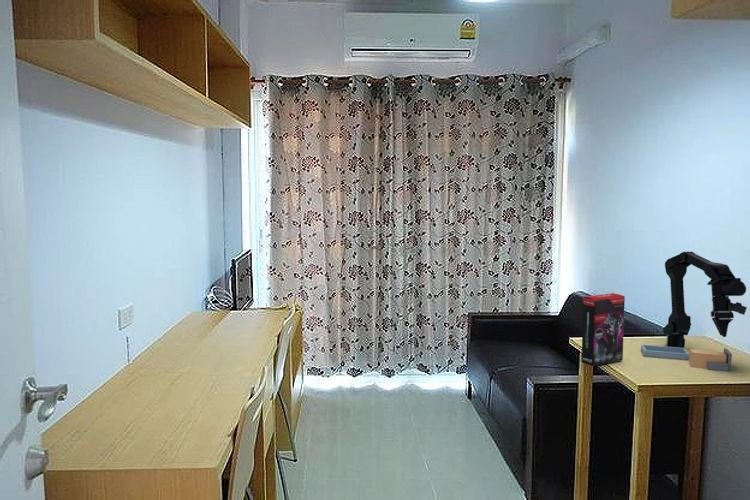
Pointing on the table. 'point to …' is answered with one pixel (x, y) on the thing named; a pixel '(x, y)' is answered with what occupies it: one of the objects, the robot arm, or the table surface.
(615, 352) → the graphics card box
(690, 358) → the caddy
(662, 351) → the tray
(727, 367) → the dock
